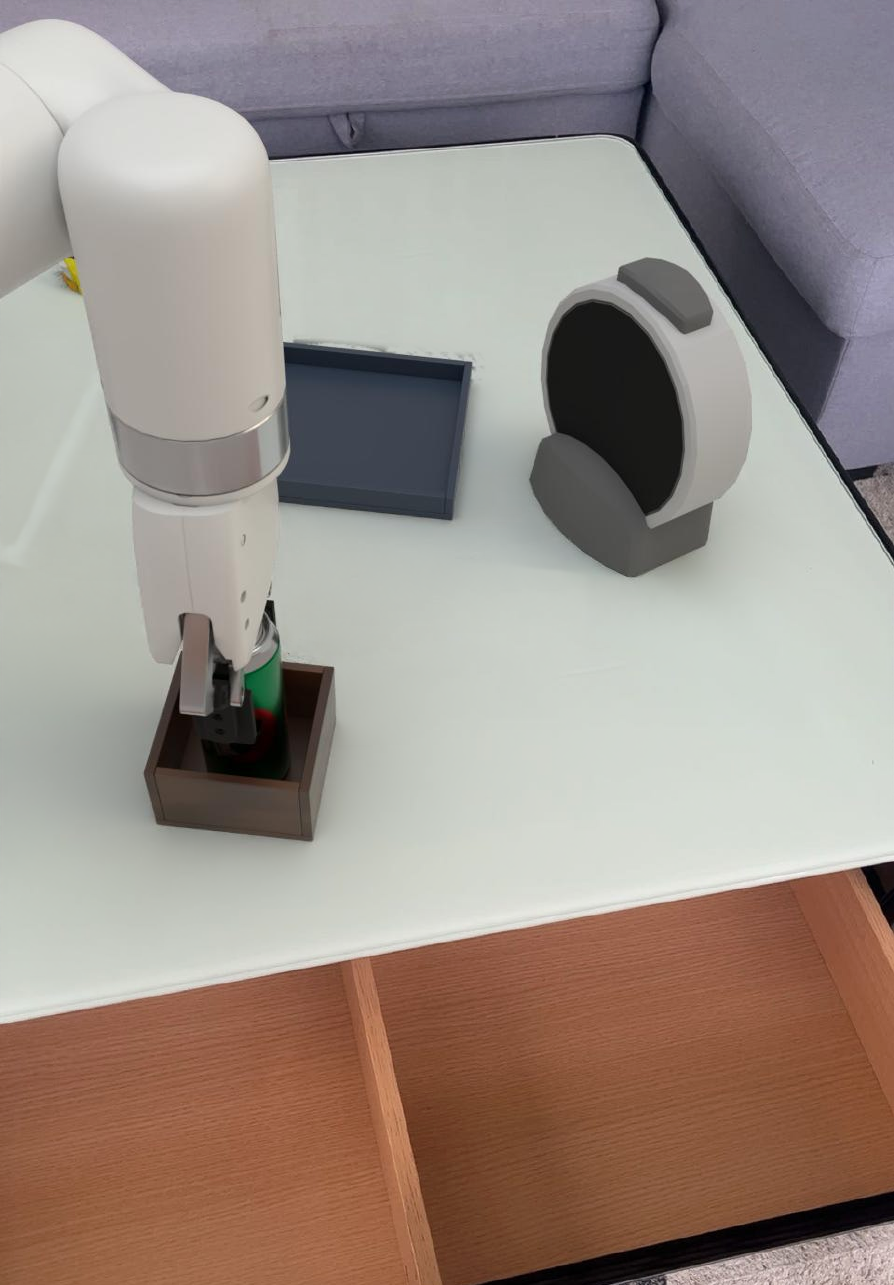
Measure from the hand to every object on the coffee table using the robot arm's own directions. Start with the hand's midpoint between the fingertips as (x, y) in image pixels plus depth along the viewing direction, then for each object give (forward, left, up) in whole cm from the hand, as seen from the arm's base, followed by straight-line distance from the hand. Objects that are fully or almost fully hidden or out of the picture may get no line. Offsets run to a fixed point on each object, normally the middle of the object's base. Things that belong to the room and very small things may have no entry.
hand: (238, 690), depth 65 cm
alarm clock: (+22, +27, -8) cm, 36 cm away
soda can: (0, 0, -7) cm, 7 cm away
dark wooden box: (0, 0, -7) cm, 7 cm away
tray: (+2, +32, -7) cm, 33 cm away
